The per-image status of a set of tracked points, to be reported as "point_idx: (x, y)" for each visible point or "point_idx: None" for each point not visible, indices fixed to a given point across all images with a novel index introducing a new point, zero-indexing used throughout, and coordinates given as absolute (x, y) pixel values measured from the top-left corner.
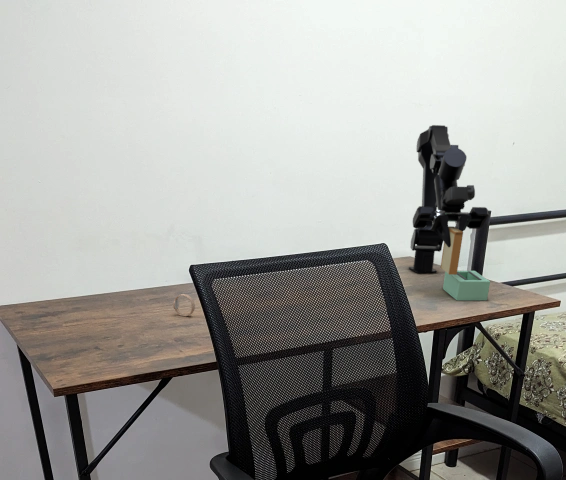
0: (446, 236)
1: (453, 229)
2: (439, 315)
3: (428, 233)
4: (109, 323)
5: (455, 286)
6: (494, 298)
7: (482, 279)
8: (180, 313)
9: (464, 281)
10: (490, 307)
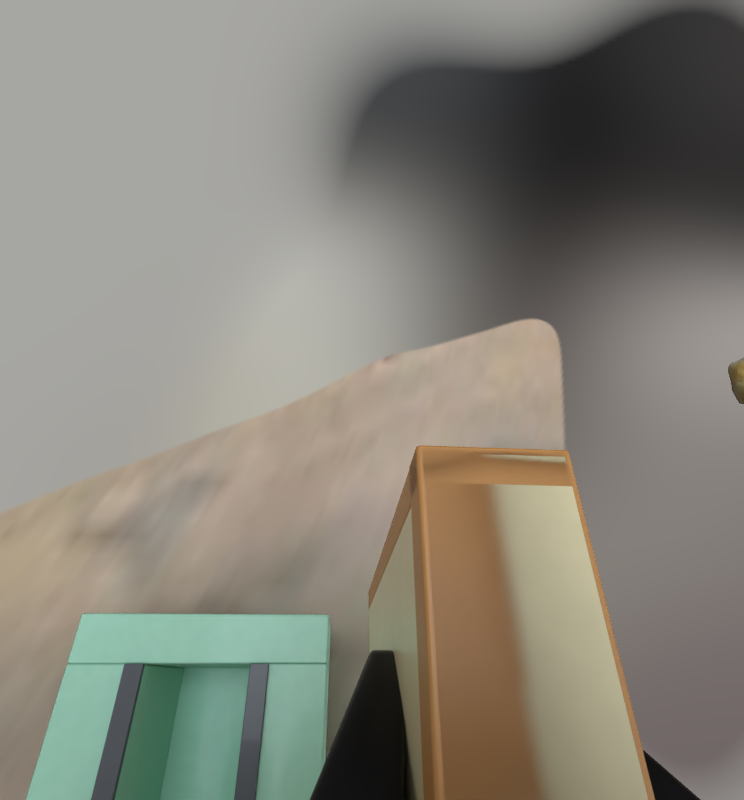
0: (649, 764)
1: (592, 779)
2: (488, 384)
3: None
4: None
5: (326, 698)
6: (49, 685)
7: (107, 681)
8: None
9: (291, 616)
10: (202, 486)
